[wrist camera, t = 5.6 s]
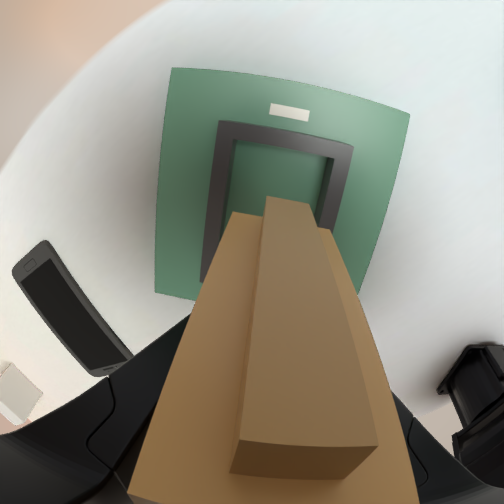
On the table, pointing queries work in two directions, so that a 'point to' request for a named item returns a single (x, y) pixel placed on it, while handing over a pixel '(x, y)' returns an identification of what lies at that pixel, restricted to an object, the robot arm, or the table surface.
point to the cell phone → (69, 311)
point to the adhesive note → (17, 395)
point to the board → (268, 166)
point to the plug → (275, 381)
